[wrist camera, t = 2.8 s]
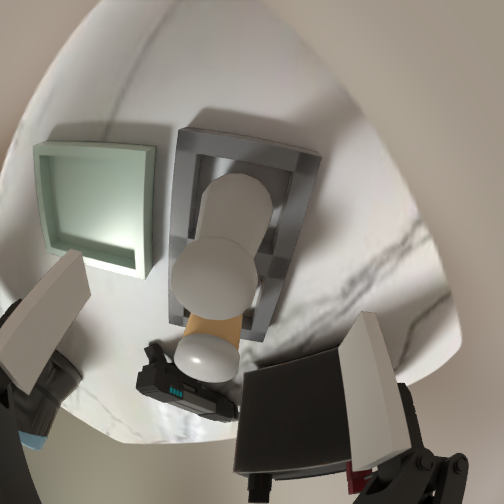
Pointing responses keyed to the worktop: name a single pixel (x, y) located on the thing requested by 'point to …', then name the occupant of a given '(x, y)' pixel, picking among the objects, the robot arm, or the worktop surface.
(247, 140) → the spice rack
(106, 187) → the tray
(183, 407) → the gun
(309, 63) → the worktop surface
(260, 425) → the voltmeter
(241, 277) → the salt shaker
